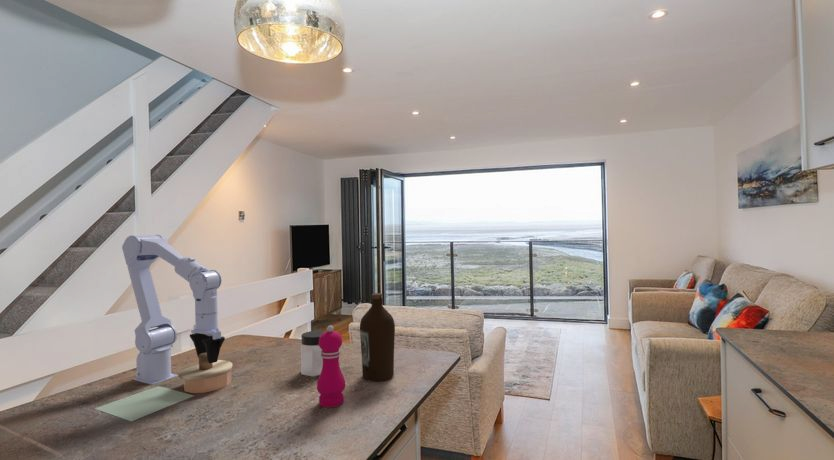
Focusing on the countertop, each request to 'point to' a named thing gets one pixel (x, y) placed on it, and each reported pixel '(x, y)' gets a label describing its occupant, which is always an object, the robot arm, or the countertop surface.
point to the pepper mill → (330, 370)
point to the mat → (144, 403)
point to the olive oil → (377, 341)
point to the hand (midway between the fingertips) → (207, 359)
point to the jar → (311, 354)
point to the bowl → (207, 383)
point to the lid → (204, 369)
